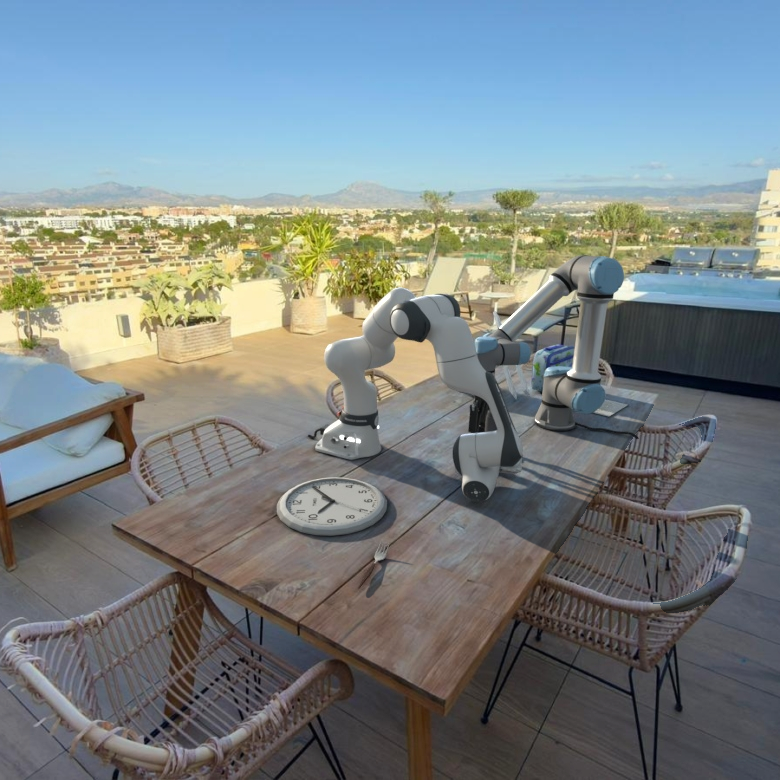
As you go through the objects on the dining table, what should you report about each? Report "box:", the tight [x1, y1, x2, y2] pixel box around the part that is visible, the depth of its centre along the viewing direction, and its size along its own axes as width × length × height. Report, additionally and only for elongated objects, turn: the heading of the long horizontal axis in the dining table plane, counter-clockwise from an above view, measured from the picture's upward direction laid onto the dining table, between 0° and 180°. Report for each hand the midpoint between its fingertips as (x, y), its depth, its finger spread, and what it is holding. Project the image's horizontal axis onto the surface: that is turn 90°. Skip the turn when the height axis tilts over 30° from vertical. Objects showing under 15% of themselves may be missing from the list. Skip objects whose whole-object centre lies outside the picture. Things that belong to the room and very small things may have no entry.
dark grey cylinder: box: [485, 409, 497, 432], centre depth 163 cm, size 4×4×19 cm
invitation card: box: [592, 398, 629, 418], centre depth 226 cm, size 21×1×15 cm
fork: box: [357, 541, 391, 589], centre depth 116 cm, size 3×16×2 cm, turn 160°
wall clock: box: [276, 476, 388, 537], centre depth 142 cm, size 30×2×30 cm
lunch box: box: [530, 344, 575, 393], centre depth 247 cm, size 26×11×21 cm, turn 134°
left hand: (490, 449), depth 165 cm, fingers closed on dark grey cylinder, 4 cm apart
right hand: (477, 446), depth 182 cm, fingers closed on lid, 5 cm apart
